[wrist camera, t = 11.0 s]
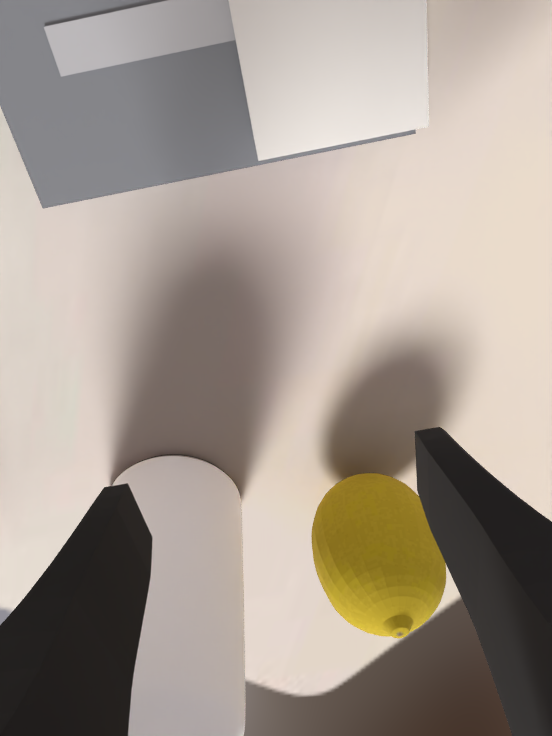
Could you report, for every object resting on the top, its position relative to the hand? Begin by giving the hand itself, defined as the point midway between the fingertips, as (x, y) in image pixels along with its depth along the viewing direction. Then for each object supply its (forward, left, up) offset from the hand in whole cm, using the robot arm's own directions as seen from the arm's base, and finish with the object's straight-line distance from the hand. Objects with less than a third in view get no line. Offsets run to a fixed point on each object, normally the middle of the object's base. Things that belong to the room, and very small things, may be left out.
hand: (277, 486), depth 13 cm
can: (+6, +9, -10) cm, 14 cm away
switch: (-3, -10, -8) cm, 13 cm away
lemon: (-3, +10, -10) cm, 14 cm away
